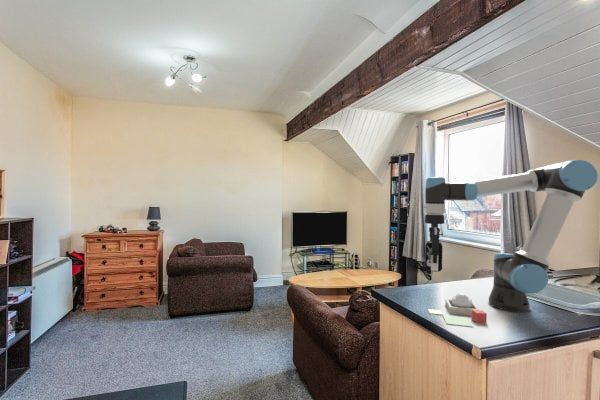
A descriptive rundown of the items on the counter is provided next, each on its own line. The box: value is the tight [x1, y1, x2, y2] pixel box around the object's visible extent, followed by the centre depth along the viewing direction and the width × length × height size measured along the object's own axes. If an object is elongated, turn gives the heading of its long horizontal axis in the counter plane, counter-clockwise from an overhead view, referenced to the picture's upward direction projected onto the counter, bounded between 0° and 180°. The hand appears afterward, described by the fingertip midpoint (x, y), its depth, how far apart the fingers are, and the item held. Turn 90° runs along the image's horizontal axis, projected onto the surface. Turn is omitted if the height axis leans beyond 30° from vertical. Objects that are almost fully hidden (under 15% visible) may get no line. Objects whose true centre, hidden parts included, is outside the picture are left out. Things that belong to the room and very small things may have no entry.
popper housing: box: [444, 298, 480, 317], centre depth 134 cm, size 11×11×2 cm
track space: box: [427, 308, 444, 316], centre depth 131 cm, size 5×5×1 cm
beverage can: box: [424, 240, 443, 273], centre depth 135 cm, size 7×7×12 cm
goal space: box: [442, 314, 474, 328], centre depth 121 cm, size 9×9×1 cm
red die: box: [471, 309, 488, 324], centre depth 122 cm, size 4×4×4 cm
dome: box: [451, 292, 473, 308], centre depth 134 cm, size 8×8×5 cm
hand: (433, 268), depth 135 cm, fingers closed on beverage can, 7 cm apart
